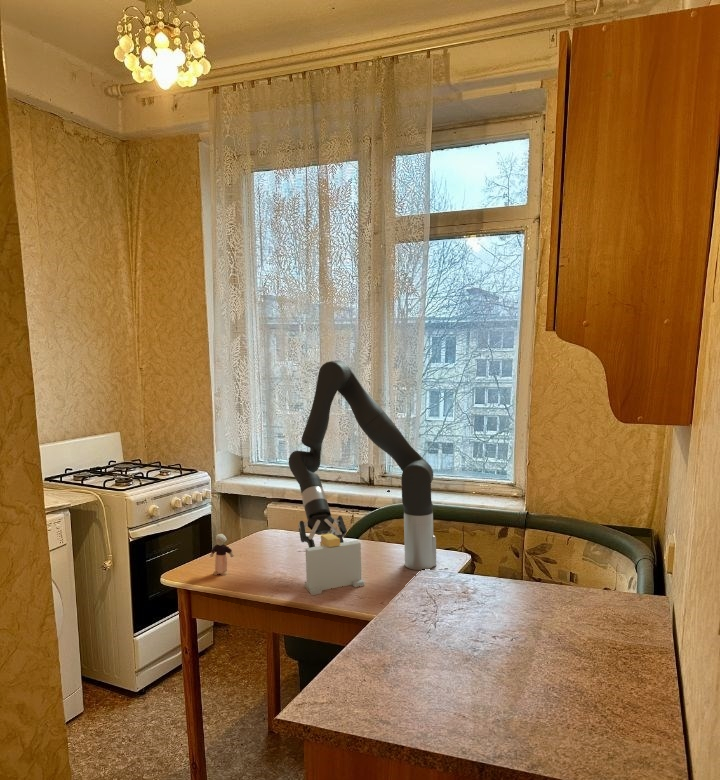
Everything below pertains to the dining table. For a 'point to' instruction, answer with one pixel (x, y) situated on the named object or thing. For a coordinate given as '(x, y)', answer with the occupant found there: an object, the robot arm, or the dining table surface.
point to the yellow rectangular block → (329, 540)
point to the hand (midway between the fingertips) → (328, 550)
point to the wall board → (333, 567)
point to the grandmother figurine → (221, 555)
